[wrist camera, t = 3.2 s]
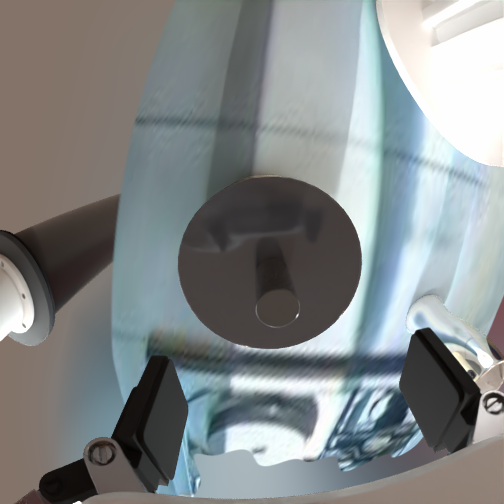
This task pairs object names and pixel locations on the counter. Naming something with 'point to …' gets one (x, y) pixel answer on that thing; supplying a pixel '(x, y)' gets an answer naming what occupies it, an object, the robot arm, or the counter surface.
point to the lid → (269, 262)
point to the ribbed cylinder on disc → (452, 67)
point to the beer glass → (460, 341)
